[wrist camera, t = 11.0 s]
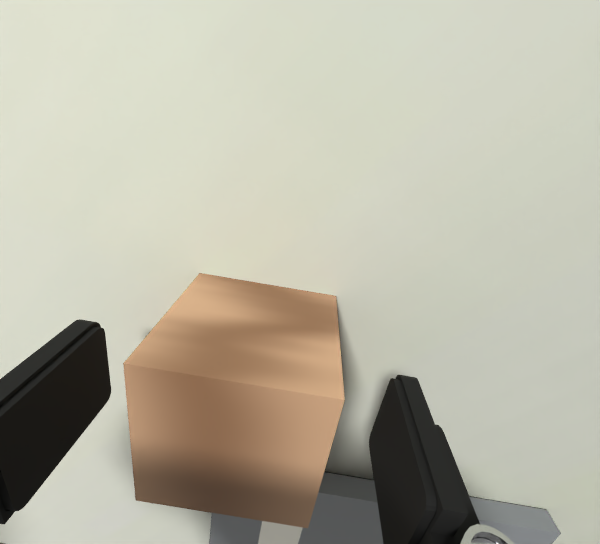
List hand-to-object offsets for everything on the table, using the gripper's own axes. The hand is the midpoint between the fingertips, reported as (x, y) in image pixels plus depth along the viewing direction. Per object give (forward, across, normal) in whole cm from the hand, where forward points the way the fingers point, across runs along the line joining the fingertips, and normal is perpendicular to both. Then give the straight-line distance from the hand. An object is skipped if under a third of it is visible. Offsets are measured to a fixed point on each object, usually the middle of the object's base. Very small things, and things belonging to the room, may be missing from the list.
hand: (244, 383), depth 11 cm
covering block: (+2, 0, 0) cm, 3 cm away
